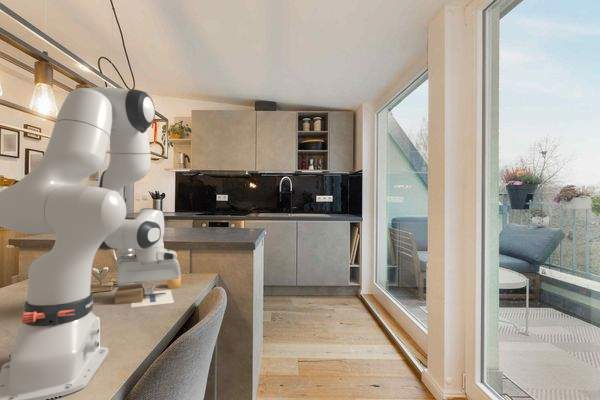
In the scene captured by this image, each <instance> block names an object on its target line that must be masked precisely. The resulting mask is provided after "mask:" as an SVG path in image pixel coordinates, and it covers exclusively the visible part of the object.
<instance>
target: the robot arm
mask: <svg viewBox="0 0 600 400" xmlns="http://www.w3.org/2000/svg"><path fill="white" fill-rule="evenodd" d="M155 116H156V108H155V103H154V101H153V98H152V97H151V96H150V95H149V94H148V93H147V92H146V91H143V90H139V89H135V88H134V89H133V88H132V89H126V88H119V87H110V86H96V87H95V86H94V87H78V88H75V89H72V90H71V91H69V93H68V95H67V96H66V98H65V100H64V101H63V103H62V105H61V107H60V109H59V111H58V113H57V116H56V120H55V123H54V126H53V129H52V132H51V135H50V138H49V141H48V144H47V146H46V149H45V151H44V153H43V155H42V157H41V158H40V160H39V161H38V163H37V164H36V165H35V166H34V167H33V168H32V170H30V171H29V173H27V174H26V175H25V176H24V177H22V178H21V179H20V180H18V181H17V182H15V183H14V184H12V185H10V186H8V187H5V188H3V189H2V190H1V191H0V228H3V229H4V230H5V229H6V230H9V231H13V232H17V233H21V234H27V235H55V241H54V244H53V247H52V248H51V250H50V251H48V252H46V253H44V254H41V255H40V256H38V257H37V258H36V259H34V261H32V262H31V264H30V265H29V267H28V270H27V271H28V272H27V273H28V275H27V276H28V277H27V300H26V301H25V302H24V308H23V310H22V316H21V317H22V318H21V323H22V324H20V325H19V326H18V327H17V328H16V330H17V333H16V339H15V343H14V347H13V351H11V352H10V353H9V355H8V358H9V360H10V361H8V362H5V363H4V364H3V365H2V366H1V369H0V400H46V399H49V400H52V399H51V398H53V399H56V398H55V397H57V398H60V397H59V396H61V397H63V396H66V395H70V394H72V393H75V392H77V391H81V390H83V389H84V388H85V387H87V385H88V384H89V382H90V381H91V379H92V377H93V376H94V375H95V373H96V372H97V370H98V369H99V367H100V366H101V365H102V364H103V362H104V360H105V359H106V358H107V356H108V354H109V348H108V347H106V346H102V345H101V342H100V341H101V333H100V331H101V328H100V323H101V322H100V321H101V320H100V317H98V316H97V315H95V314H94V313H93V311H92V310H93V303H94V299H93V297H94V296H93V293H92V292H91V291H92V290H91V287H92V274H93V273H92V272H93V264H94V261H95V256H96V253H97V251H98V250H99V249H101V250H104V251H105V250H108V251H109V250H117V249H135V255H129V256H121V257H119V258H118V257H117V258H116V260H115V267H116V269H117V271H116V277H115V278H116V280H115V282H116V281H117V282H118V283H119V284H122V283H134V284H136V283H142V286H143V288H144V289H145V294H153V291H154V289H155V288H156V286H157V284H158V282H159V281H167V280H173V279H178V278H179V277H180V273H181V268H180V263H179V260H178V259H177V257H178V253H177V252H176V251H175V250H172V249H168V248H165V243H164V235H165V218H164V212H163V211H162V210H160V209H158V208H149V207H148V208H140V209H139V211H138V215H137V217H135V218H133V219H130V218H129V219H126V217H127V205H126V202H125V199H124V198H123V196H122V195H121V194H120V191H121V190H122V189H123V188H125V187H126V186H129V185H131V184H134V183H136V182H139V181H141V180H143V179H144V178H145V177H146V176H147V175H148V174H149V172H150V170H151V168H152V154H151V146H150V145H151V144H150V139H149V133H148V131H147V130H148V128H150V127H151V125H152V124H153V123H154V120H155V119H156V118H155ZM108 147H109V155H110V157H109V163H108V166H107V168H106V169H105V170H103V171H102V173H101V176H100V178H99V186H95V185H94V186H93V185H79V184H80V183H81V182H82V181H84V180H85V179H86V178H89V177H90V176H92V175H94V174H96V173H98V172H99V171H100V170H102V168H103V166H104V164H105V160H106V156H107V152H108ZM120 258H121V259H120ZM127 258H128V259H127ZM147 282H152V286H151V287H147V286H146V285H147Z"/></svg>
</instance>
